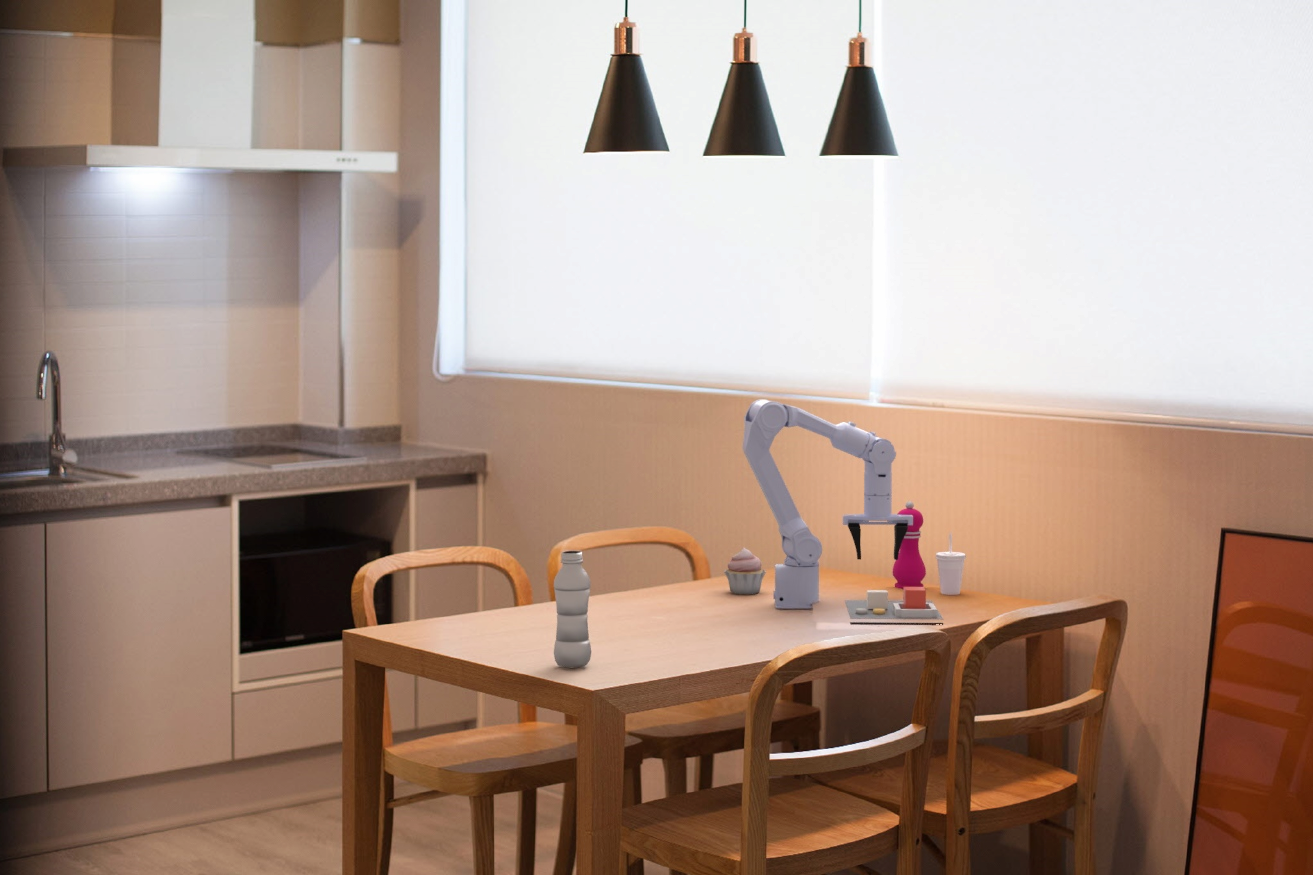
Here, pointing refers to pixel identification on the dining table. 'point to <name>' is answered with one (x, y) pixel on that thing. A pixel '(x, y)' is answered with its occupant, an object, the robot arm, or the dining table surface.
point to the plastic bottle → (572, 612)
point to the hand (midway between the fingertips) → (877, 558)
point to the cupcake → (745, 573)
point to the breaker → (877, 599)
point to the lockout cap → (914, 598)
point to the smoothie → (950, 570)
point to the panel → (890, 613)
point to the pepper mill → (910, 553)
